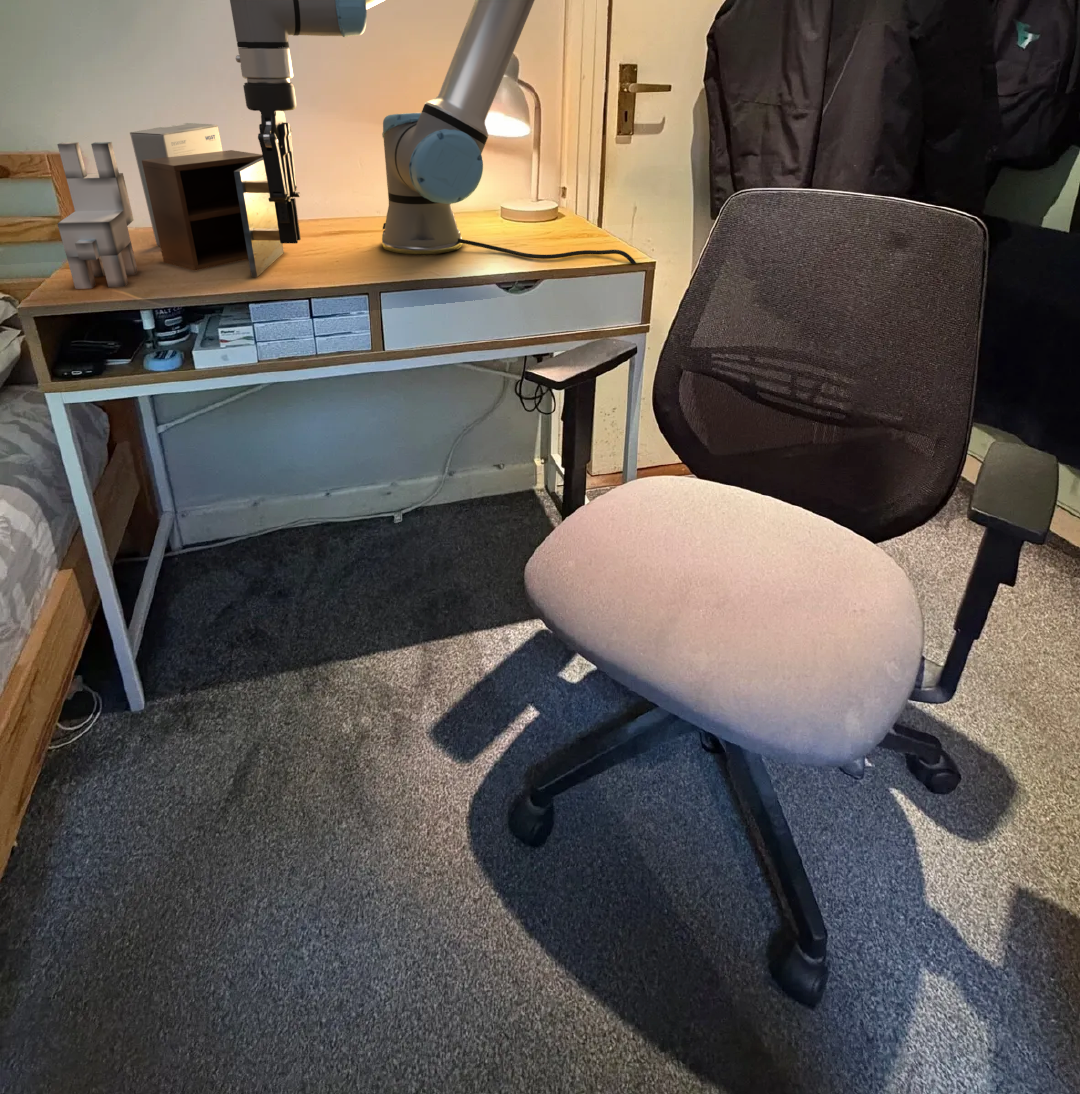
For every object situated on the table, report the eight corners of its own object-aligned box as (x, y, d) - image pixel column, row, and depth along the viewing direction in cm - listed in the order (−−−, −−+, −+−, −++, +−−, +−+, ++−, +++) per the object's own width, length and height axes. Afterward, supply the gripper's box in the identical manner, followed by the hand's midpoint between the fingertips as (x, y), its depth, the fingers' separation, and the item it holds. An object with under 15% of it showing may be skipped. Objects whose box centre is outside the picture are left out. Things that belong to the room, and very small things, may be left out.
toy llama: (71, 293, 133) (32, 154, 123) (98, 266, 148) (66, 140, 137) (121, 291, 135) (87, 154, 124) (144, 264, 149) (115, 140, 139)
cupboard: (278, 252, 158) (264, 154, 149) (195, 271, 146) (173, 165, 137) (247, 245, 163) (231, 149, 154) (163, 262, 151) (141, 160, 142)
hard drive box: (208, 230, 174) (188, 122, 163) (239, 233, 172) (220, 124, 161) (154, 245, 162) (128, 130, 151) (186, 249, 159) (162, 132, 149)
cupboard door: (320, 253, 158) (308, 156, 149) (297, 277, 142) (282, 171, 134) (278, 252, 157) (264, 155, 149) (251, 277, 142) (233, 171, 134)
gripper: (254, 78, 135) (277, 232, 147) (230, 83, 122) (257, 251, 135) (302, 78, 135) (320, 232, 148) (282, 83, 123) (305, 251, 135)
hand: (290, 240), depth 141 cm, fingers closed on cupboard door, 2 cm apart
